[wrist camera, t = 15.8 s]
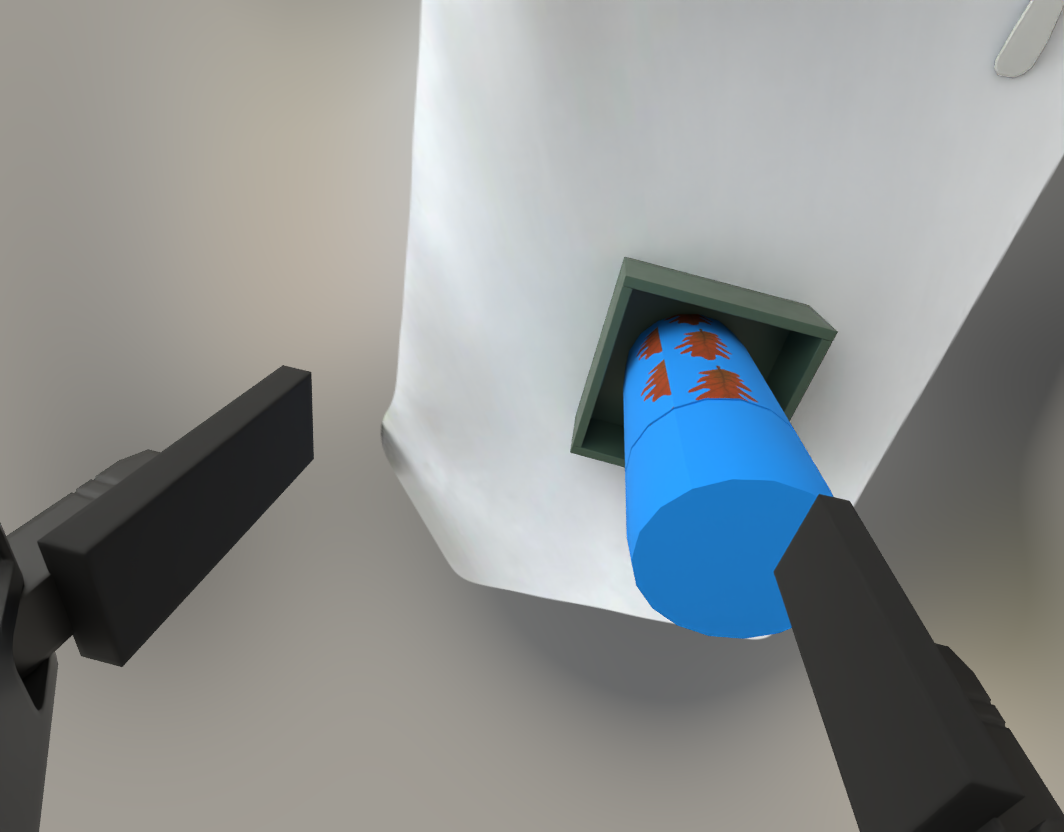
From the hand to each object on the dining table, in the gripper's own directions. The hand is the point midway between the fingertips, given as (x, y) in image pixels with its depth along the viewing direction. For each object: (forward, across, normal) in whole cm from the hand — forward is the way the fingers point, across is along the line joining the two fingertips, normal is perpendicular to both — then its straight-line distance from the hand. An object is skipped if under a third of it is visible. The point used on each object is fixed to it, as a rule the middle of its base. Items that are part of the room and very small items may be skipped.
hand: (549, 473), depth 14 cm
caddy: (+35, +10, -10) cm, 38 cm away
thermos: (+35, +10, -10) cm, 37 cm away
